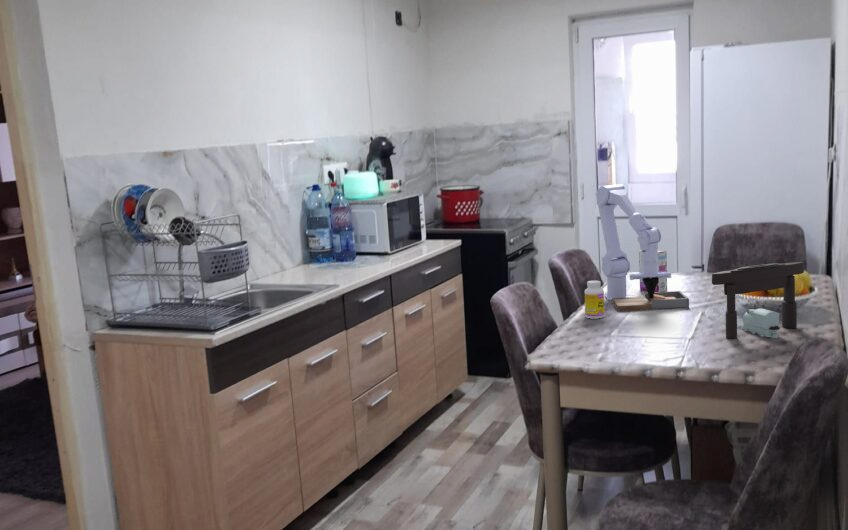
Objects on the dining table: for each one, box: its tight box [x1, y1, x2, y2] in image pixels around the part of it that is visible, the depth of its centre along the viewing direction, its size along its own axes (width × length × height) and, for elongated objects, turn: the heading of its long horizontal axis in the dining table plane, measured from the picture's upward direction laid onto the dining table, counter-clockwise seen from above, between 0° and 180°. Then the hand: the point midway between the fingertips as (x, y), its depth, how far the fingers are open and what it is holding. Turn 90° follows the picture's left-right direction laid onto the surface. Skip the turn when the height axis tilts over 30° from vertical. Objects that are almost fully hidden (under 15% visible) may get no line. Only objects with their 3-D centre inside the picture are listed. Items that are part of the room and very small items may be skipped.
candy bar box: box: [638, 249, 668, 292], centre depth 309 cm, size 11×5×16 cm, turn 25°
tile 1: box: [651, 294, 665, 300], centre depth 284 cm, size 4×4×2 cm
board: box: [611, 296, 653, 312], centre depth 285 cm, size 14×12×2 cm
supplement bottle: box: [584, 280, 605, 320], centre depth 272 cm, size 7×7×13 cm
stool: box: [711, 261, 805, 340], centre depth 237 cm, size 16×21×33 cm
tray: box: [644, 290, 690, 311], centre depth 284 cm, size 14×13×4 cm
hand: (650, 297), depth 284 cm, fingers closed
